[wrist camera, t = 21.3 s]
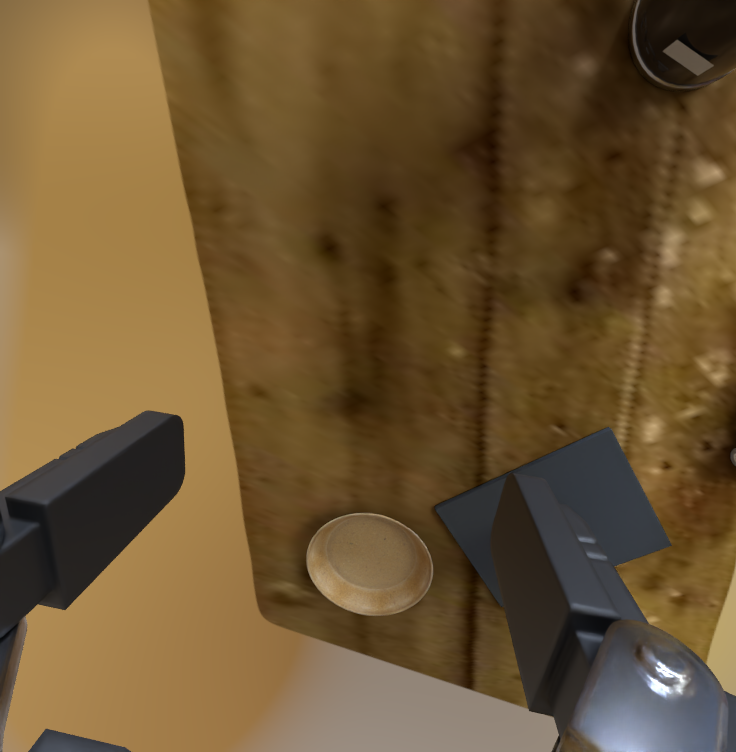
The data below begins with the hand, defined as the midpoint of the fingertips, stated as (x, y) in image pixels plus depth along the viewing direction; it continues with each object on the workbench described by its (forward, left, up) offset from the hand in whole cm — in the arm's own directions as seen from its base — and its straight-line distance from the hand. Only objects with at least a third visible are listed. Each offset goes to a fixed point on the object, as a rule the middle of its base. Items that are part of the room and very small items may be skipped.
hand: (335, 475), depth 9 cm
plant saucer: (+18, +24, -30) cm, 42 cm away
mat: (-2, +30, -30) cm, 42 cm away
